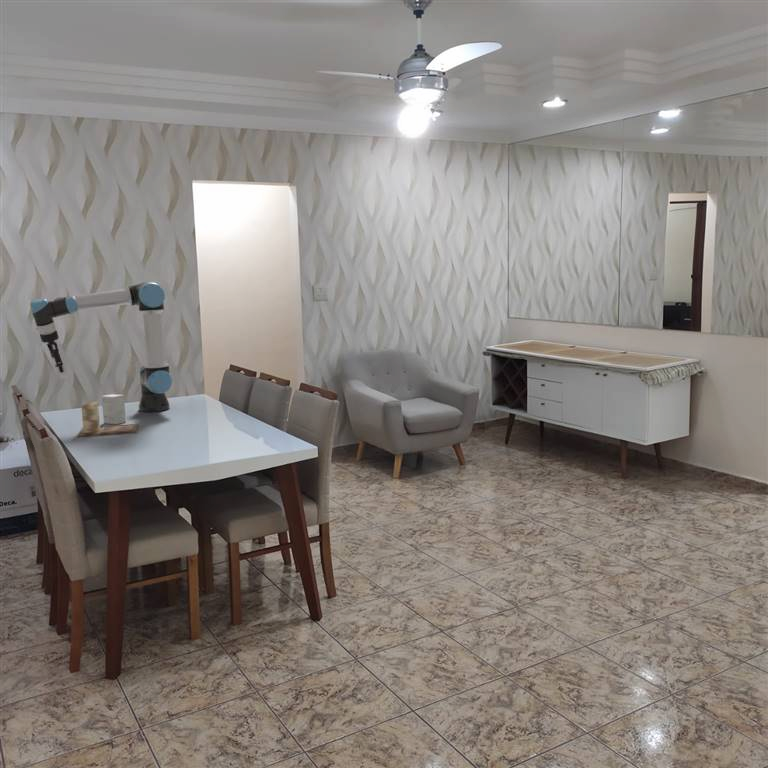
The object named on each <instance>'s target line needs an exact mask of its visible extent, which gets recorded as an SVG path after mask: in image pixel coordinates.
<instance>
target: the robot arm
mask: <svg viewBox="0 0 768 768" xmlns="http://www.w3.org/2000/svg"><path fill="white" fill-rule="evenodd" d="M165 298H166V293H165V291H164V289H163V287H162V286H161V285H159V284H158V283H156V282H153V281H151V282H150V281H146V282H141V283H138V284H134V285H129V286H125V287H124V288H123V289H122V288H121V289H115V290H114V289H113V290H107V291H106V290H105V291H99V292H94V293H93V292H92V293H91V292H90V293H85V294H79V295H78V294H77V295H72V296H63V297H61V296H59V297H56V298H55V299H54V300H52V301H51V300H50V301H48V299H47V298H43V297H40V298H37V299H34V300H32V301H31V302H30V303H29V305H30V310H31V314H32V316H33V318H34V319H33V320H34V322H35V324H36V328H35V329H36V330H38V334H39V337H40V340H41V343H47V344H46V346H47V348H48V351H49V353H50V355H51V356H50V357H51V359H52V362H53V365H54V369H55V371H56V372H58V375H59V377H60V380H64V379H68V377H67V373H66V371H65V367H64V363H63V360H62V358H61V356H60V353H59V352H60V351H59V347H58V344H57V342H56V341H57V340H59V338H60V337H59V334H58V331H57V327H56V324H55V321H54V318H58V317H61V316H66V315H70V314H73V313H77V312H80V311H81V312H83V311H89V310H95V309H102V308H103V309H104V308H109V307H110V308H111V307H117V306H124V305H128V306H130V307H132V306H138V311H139V313H140V314H142V319H143V320H142V321H143V330H144V331H143V333H144V342H145V350H146V351H145V353H146V362H147V363H146V364H145V365H141V366H140V367H139V377H140V391H141V393H140V395H141V396H140V401H139V404H138V411H139V412H144V413H145V412H146V413H155V412H163V411H167V410H169V409H170V408H171V407H170V403H169V399H168V398H167V395H166V393H167V392H168V391H170V389H171V387H172V386H173V378H172V374H171V373H170V365H169V363H168V362H166V353H165V341H164V331H163V330H164V329H163V322H162V321H163V320H162V313H163V311H165V306H164V305H165V304H164V302H165Z"/></svg>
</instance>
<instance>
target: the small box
mask: <svg viewBox="0 0 768 768" xmlns="http://www.w3.org/2000/svg"><path fill="white" fill-rule="evenodd" d="M101 403H102V404H101V405H102V415H103V416H102V418H103V423H104V424H108V425H121V424H123V423H126V422H127V419H126V406H125V395H124V394H105V395H101Z"/></svg>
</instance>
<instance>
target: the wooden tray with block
mask: <svg viewBox="0 0 768 768" xmlns="http://www.w3.org/2000/svg"><path fill="white" fill-rule="evenodd" d="M80 406H81V417H82V418H81V419H82V427H81V429H80V430H79V432H78V434H77V438H86V437H87V438H88V437H99V436H113V435H115V436H116V435H125V434H137V431H138V427H139V424H138V423H130V424H129V423H128V424H127V423H126V424H111V425H102V426H101V423H100V411H99V401H89V402H83V403H82V404H81V405H80Z"/></svg>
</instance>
